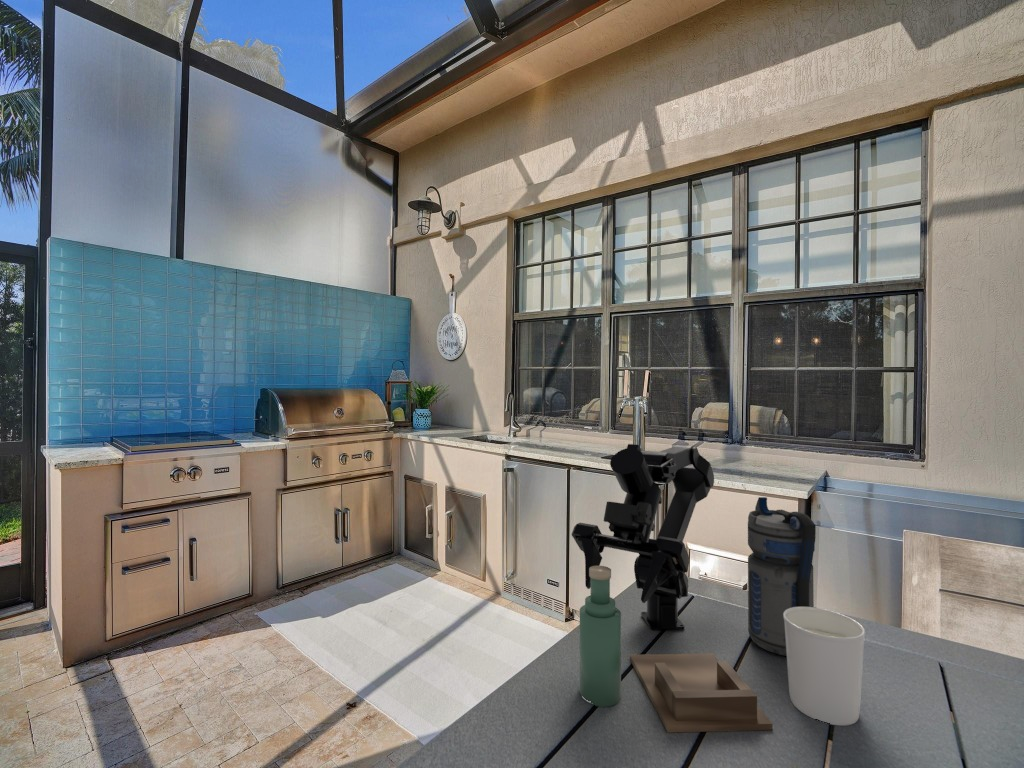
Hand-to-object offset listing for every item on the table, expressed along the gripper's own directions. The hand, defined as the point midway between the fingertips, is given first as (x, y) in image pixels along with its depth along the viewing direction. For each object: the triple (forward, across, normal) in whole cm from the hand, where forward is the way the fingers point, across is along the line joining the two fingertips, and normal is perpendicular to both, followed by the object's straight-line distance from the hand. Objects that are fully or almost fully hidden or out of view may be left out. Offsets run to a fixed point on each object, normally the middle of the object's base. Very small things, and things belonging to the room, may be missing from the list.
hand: (614, 594), depth 77 cm
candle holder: (+2, +27, +16) cm, 32 cm away
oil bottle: (+13, 0, +5) cm, 14 cm away
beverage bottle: (-9, +21, +27) cm, 35 cm away
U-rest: (+7, +11, +11) cm, 17 cm away
